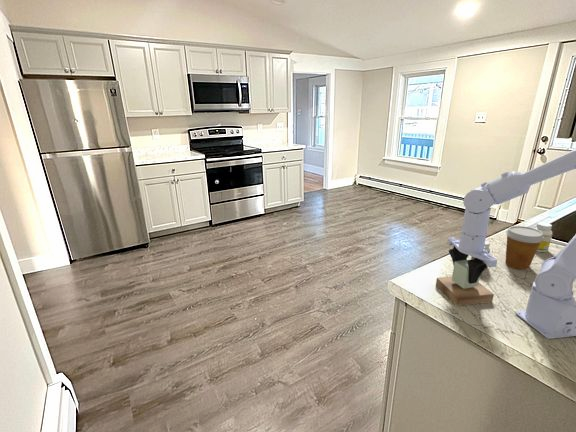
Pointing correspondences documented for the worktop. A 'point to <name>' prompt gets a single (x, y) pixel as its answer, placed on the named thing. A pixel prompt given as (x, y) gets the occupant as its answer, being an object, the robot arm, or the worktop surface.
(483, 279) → the worktop surface
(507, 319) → the worktop surface
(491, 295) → the walnut base
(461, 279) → the sage block
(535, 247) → the disposable coffee cup
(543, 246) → the supplement bottle
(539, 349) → the worktop surface
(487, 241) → the pill bottle
